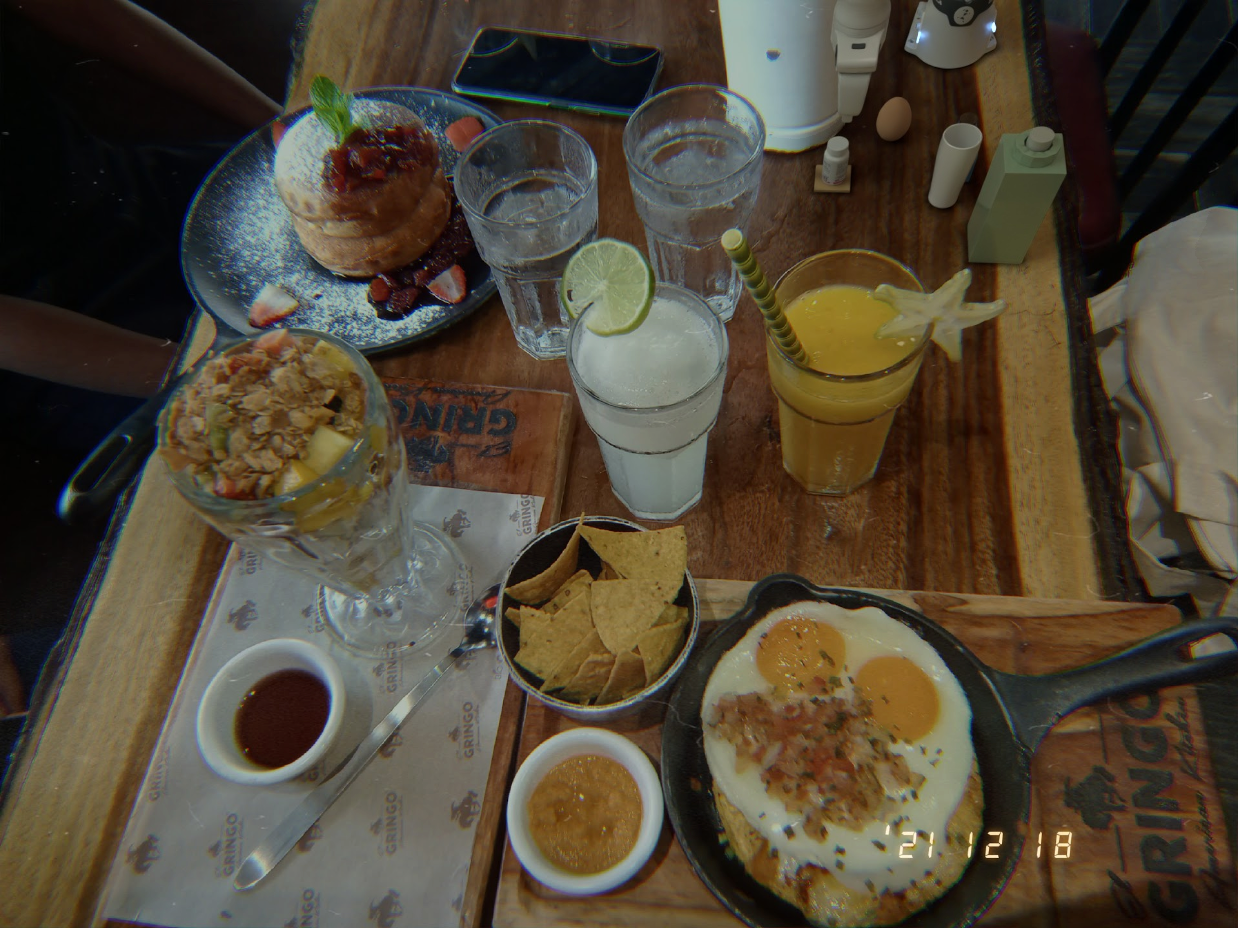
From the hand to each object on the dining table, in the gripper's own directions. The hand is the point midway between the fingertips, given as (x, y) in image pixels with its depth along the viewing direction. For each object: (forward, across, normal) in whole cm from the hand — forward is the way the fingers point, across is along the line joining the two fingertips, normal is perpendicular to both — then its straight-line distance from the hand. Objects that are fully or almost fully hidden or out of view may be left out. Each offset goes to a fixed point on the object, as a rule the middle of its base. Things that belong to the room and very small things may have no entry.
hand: (848, 101), depth 133 cm
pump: (-4, +16, +29) cm, 34 cm away
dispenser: (+18, +16, +29) cm, 38 cm away
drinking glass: (+18, +5, +20) cm, 28 cm away
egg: (+19, -12, +10) cm, 24 cm away
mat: (+18, 0, -1) cm, 18 cm away
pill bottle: (+18, 0, -1) cm, 18 cm away
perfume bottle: (+19, -3, +22) cm, 29 cm away
